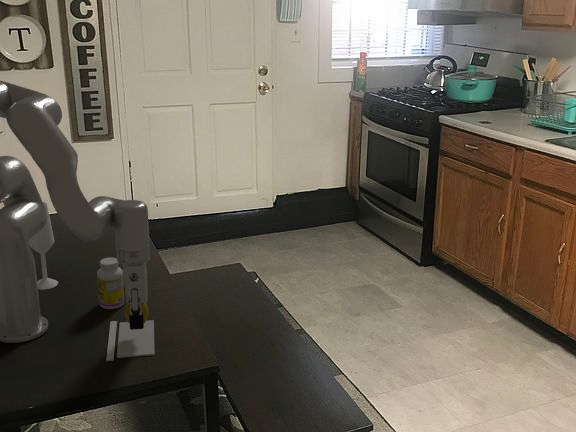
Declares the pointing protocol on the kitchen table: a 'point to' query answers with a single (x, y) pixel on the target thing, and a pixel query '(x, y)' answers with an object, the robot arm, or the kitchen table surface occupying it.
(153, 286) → the kitchen table surface
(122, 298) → the supplement bottle
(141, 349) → the mat
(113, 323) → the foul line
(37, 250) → the champagne flute
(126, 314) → the lemon
